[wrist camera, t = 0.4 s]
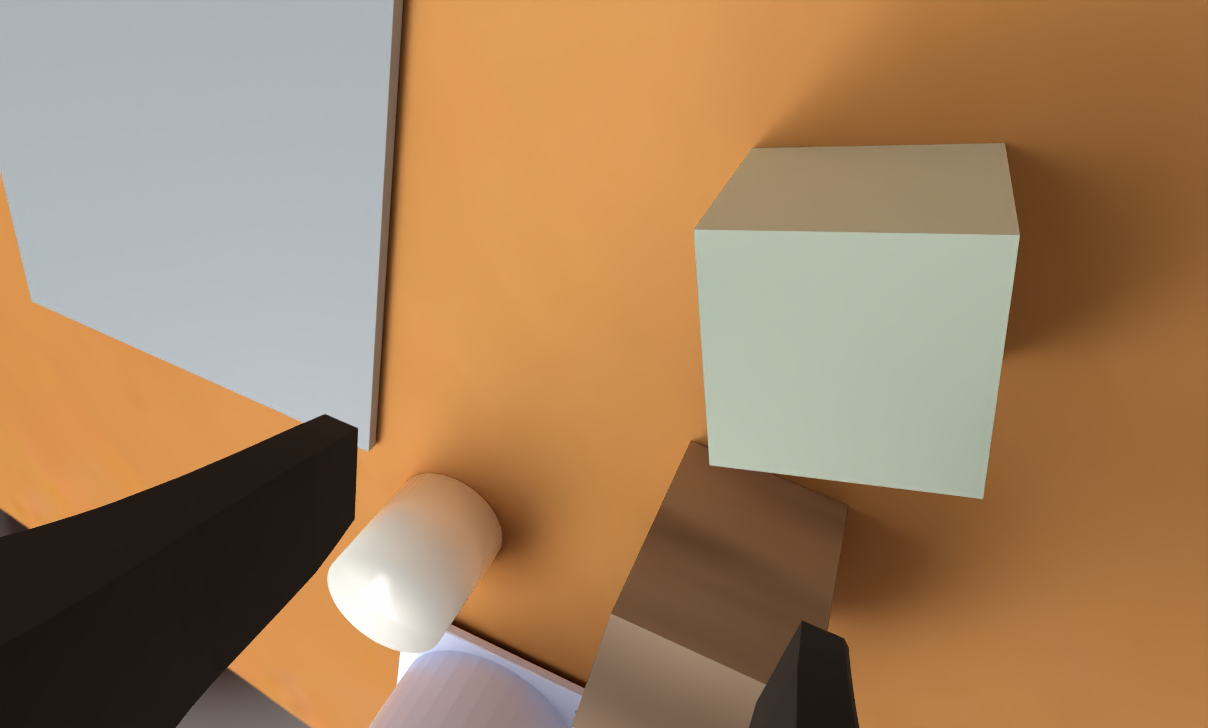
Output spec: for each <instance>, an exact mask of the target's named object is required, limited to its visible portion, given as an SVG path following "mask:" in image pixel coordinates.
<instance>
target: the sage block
mask: <svg viewBox="0 0 1208 728" xmlns="http://www.w3.org/2000/svg"><path fill="white" fill-rule="evenodd" d="M1019 238H1020V232H1019V226H1018V220H1017V214H1016V208H1015V202H1014V196H1013V189H1012V183H1011V177H1010V171H1009V165H1008V159H1007V153H1006V147H1005V143H980V144H931V145H881V146H832V147H782V148H752V149H751V150H750V152H749V153H748V155H747V156H746V157H745V159H744V160H743V162H742V163H741V164H740V166H739V167H738V169H737V170H736V171H735V173H734V174H733V176H732V177H731V178H730V180H729V181H728V183H727V184H726V185H725V187H724V188H723V190H722V191H721V192H720V194H719V195H718V196H717V198H716V199H715V201H714V202H713V203H712V205H711V206H710V208H709V209H708V210H707V212H706V213H705V215H704V216H703V217H702V219H701V220H700V222H699V223H698V224H697V226H696V227H695V229H694V241H695V256H696V271H697V286H698V301H699V316H700V330H701V345H702V360H703V375H704V390H705V405H706V420H707V435H708V449H709V464H710V465H712V466H720V467H728V468H736V469H744V470H752V471H760V472H769V473H777V474H785V475H793V476H801V477H809V478H817V479H825V480H833V481H841V482H849V483H857V484H865V485H873V486H882V487H890V488H898V489H906V490H914V491H922V492H930V493H938V494H946V495H954V496H962V497H970V498H978V499H983V495H984V488H985V481H986V474H987V466H988V459H989V452H990V445H991V438H992V431H993V424H994V417H995V409H996V402H997V395H998V388H999V381H1000V374H1001V367H1002V360H1003V352H1004V345H1005V338H1006V331H1007V324H1008V317H1009V310H1010V303H1011V295H1012V288H1013V281H1014V274H1015V267H1016V260H1017V253H1018V246H1019Z"/></svg>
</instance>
